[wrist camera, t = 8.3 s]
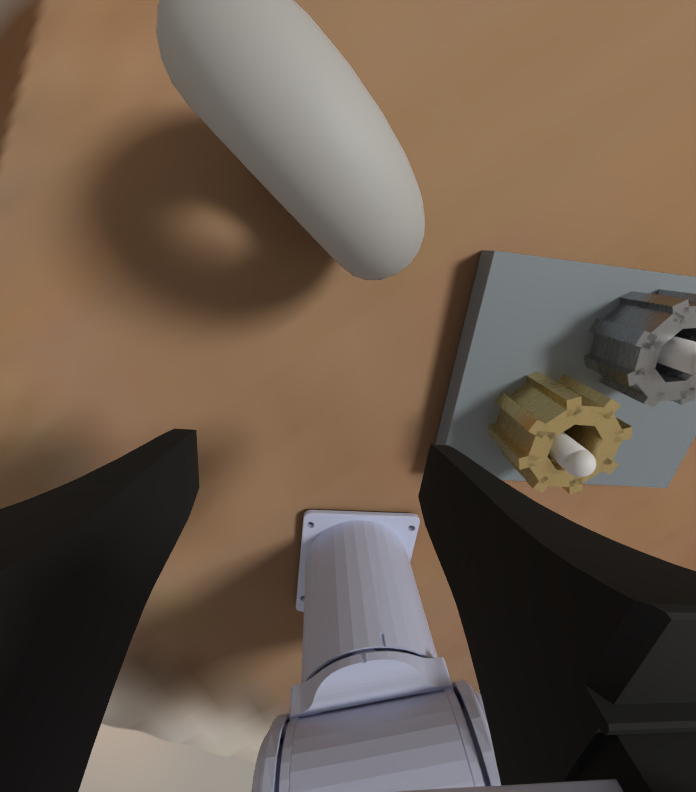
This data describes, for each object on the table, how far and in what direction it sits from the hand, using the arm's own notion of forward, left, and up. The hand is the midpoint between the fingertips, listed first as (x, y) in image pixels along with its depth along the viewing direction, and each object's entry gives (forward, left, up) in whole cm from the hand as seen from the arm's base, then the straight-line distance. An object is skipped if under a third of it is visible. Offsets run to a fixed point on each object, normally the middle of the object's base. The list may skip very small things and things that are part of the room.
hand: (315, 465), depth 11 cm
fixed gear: (+4, -17, -8) cm, 19 cm away
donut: (+9, +1, -10) cm, 14 cm away
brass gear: (-1, -13, -8) cm, 16 cm away
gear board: (+1, -16, -10) cm, 19 cm away
